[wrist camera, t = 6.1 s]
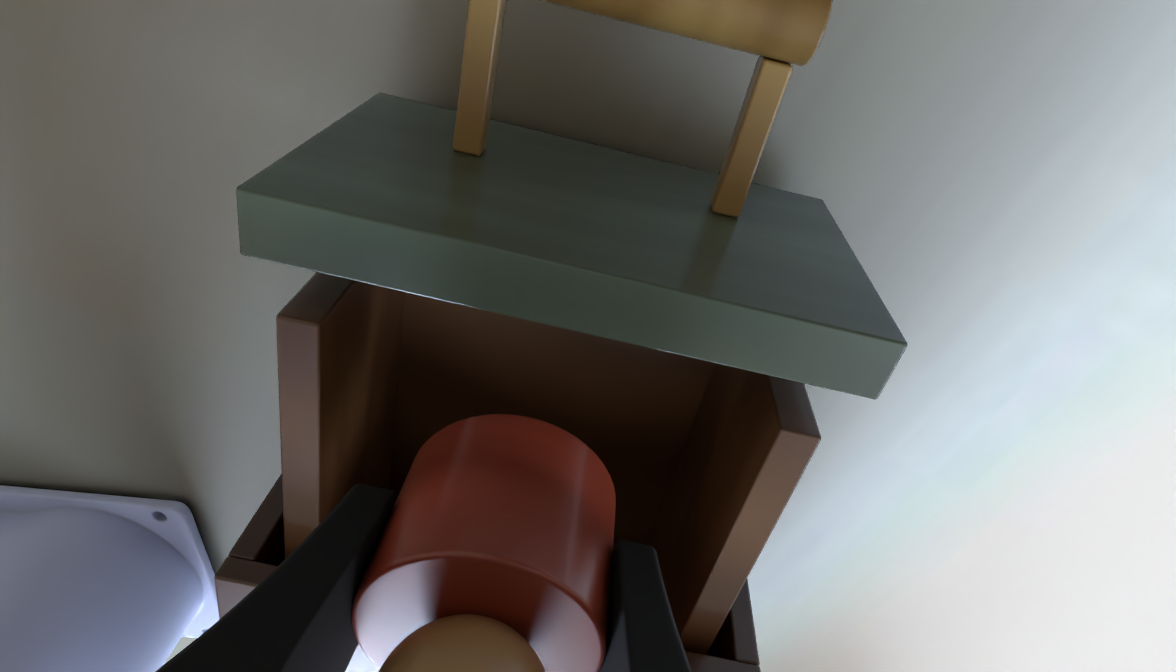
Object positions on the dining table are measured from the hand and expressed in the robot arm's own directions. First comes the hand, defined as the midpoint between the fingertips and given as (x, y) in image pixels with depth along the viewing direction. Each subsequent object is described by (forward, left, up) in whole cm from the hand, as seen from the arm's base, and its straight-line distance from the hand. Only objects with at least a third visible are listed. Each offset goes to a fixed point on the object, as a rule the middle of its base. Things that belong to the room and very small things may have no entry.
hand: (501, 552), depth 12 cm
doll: (0, 0, -1) cm, 1 cm away
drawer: (0, +1, -8) cm, 8 cm away
